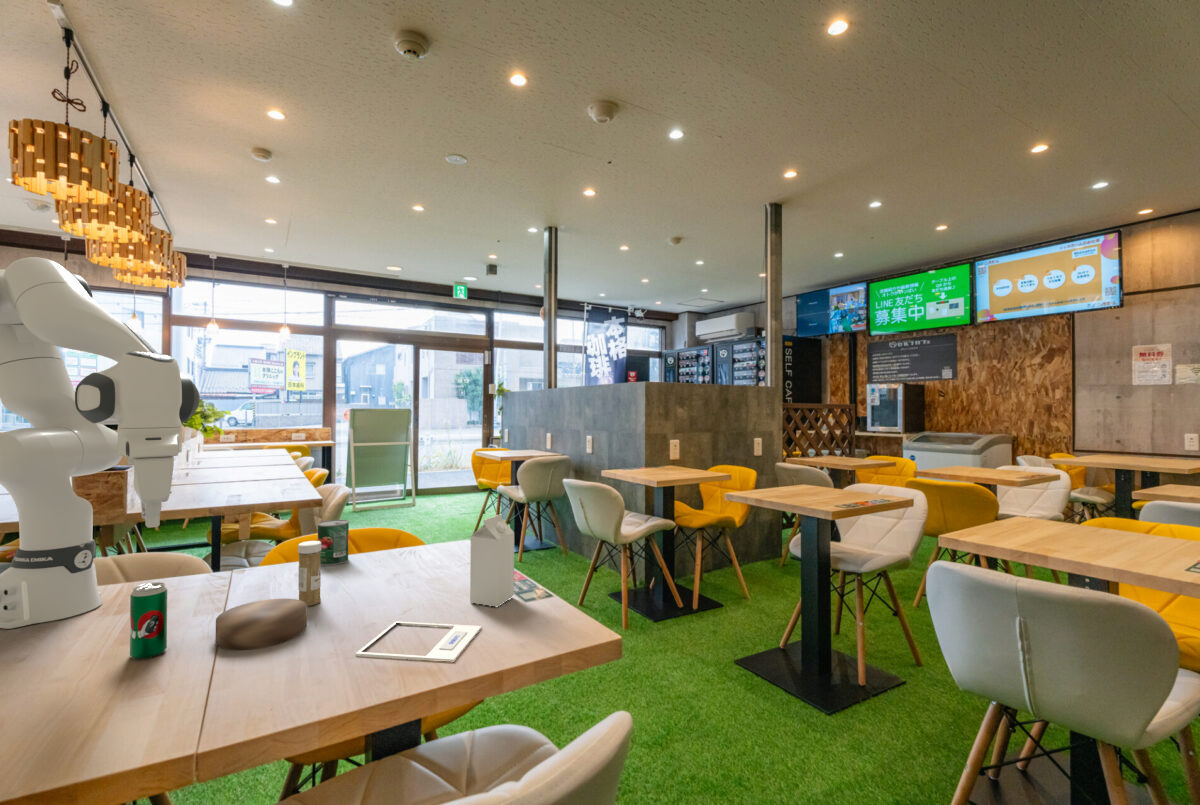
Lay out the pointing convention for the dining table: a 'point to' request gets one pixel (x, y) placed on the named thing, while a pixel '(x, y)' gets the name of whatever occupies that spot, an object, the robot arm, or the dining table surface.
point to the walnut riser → (261, 624)
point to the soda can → (148, 620)
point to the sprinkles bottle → (309, 572)
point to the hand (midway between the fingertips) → (150, 522)
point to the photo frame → (442, 651)
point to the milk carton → (492, 563)
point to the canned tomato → (333, 541)
